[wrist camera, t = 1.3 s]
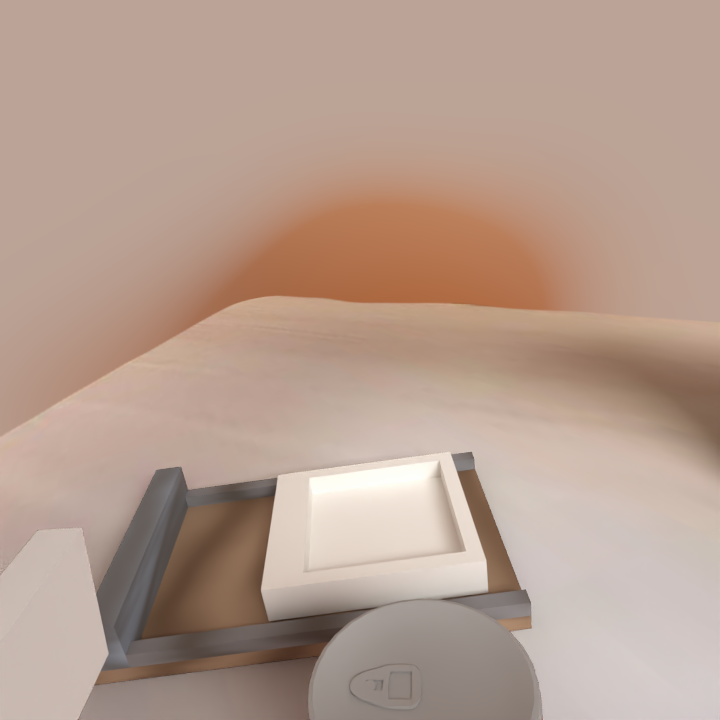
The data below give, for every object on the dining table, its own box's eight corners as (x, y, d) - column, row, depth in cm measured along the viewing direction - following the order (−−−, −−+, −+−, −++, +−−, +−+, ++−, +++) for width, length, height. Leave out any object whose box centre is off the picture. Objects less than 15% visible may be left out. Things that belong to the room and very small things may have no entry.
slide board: (472, 472, 49) (469, 427, 48) (531, 628, 35) (530, 571, 33) (152, 515, 50) (138, 472, 48) (76, 687, 35) (52, 634, 33)
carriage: (452, 478, 47) (450, 451, 46) (488, 592, 36) (486, 560, 35) (284, 500, 47) (278, 475, 46) (268, 621, 36) (260, 590, 35)
